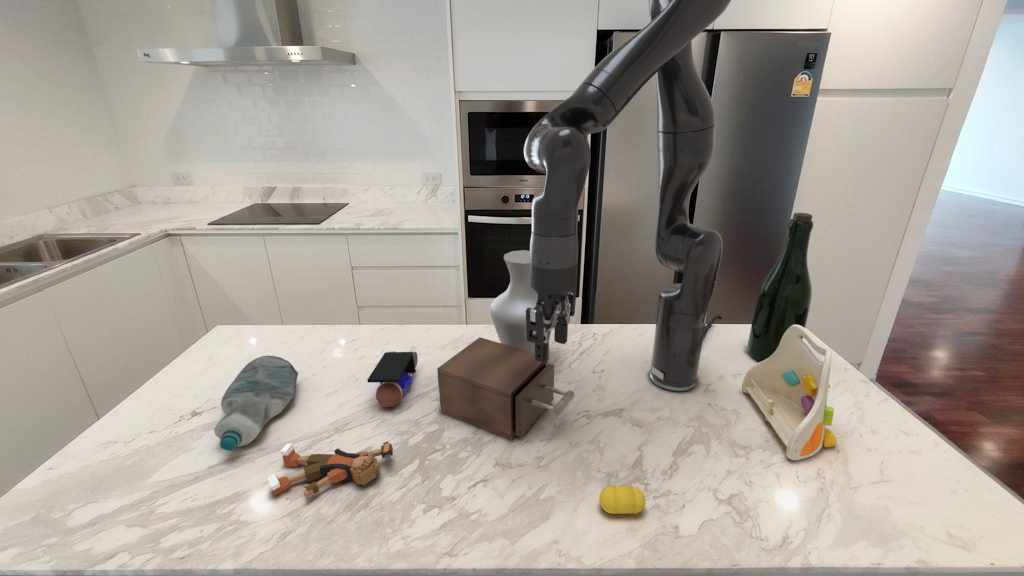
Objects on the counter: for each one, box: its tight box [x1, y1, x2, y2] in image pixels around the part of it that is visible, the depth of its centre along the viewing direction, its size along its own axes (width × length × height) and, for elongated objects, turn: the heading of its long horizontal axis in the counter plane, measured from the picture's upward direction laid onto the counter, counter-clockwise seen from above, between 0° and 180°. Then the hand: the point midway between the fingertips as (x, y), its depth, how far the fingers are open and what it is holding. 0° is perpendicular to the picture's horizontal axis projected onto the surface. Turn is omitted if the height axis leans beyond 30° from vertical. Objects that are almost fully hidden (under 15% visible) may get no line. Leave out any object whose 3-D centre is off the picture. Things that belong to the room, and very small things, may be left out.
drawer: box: [513, 363, 576, 438], centre depth 89 cm, size 20×13×8 cm, turn 59°
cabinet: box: [436, 336, 549, 441], centre depth 92 cm, size 16×14×10 cm
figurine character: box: [366, 351, 419, 408], centre depth 98 cm, size 7×8×15 cm
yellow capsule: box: [598, 485, 646, 515], centre depth 70 cm, size 7×4×4 cm, turn 90°
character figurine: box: [267, 441, 394, 499], centre depth 76 cm, size 12×5×18 cm
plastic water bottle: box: [213, 355, 299, 451], centre depth 90 cm, size 13×7×25 cm
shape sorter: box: [741, 325, 837, 461], centre depth 84 cm, size 20×10×18 cm, turn 177°
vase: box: [489, 249, 550, 353], centre depth 104 cm, size 14×14×25 cm
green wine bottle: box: [746, 212, 814, 362], centre depth 103 cm, size 10×10×33 cm
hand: (551, 350), depth 82 cm, fingers open, 6 cm apart
